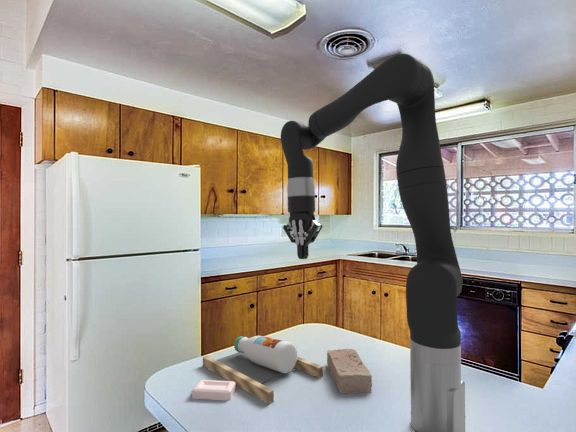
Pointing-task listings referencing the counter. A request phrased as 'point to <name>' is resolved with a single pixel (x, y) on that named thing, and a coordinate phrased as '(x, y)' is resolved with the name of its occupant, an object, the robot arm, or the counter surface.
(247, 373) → the mat
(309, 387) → the counter surface
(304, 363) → the rails
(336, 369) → the brick
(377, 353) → the counter surface
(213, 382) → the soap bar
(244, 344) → the milk bottle
